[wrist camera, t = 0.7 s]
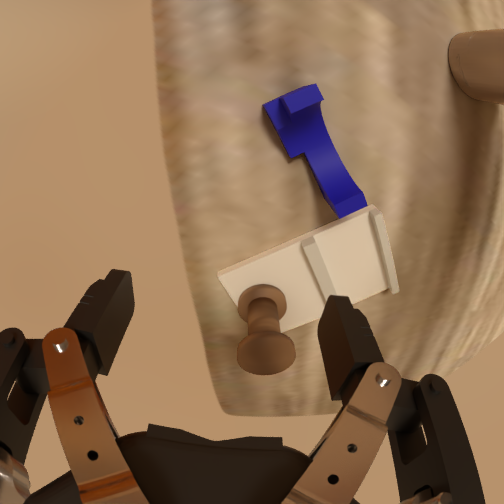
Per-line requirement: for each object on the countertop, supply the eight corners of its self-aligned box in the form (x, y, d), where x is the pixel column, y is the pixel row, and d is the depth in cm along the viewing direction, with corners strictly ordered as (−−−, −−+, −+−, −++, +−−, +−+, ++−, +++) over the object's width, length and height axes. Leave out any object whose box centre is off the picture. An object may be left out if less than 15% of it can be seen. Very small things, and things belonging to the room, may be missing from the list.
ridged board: (372, 204, 32) (381, 212, 29) (391, 279, 37) (399, 291, 35) (218, 271, 35) (216, 284, 33) (260, 334, 41) (261, 348, 38)
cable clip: (262, 104, 26) (266, 105, 21) (302, 86, 26) (315, 83, 20) (311, 203, 32) (325, 225, 27) (347, 186, 31) (367, 205, 26)
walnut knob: (274, 276, 35) (282, 330, 27) (292, 310, 37) (303, 364, 29) (229, 295, 36) (226, 349, 28) (251, 326, 38) (252, 380, 31)
